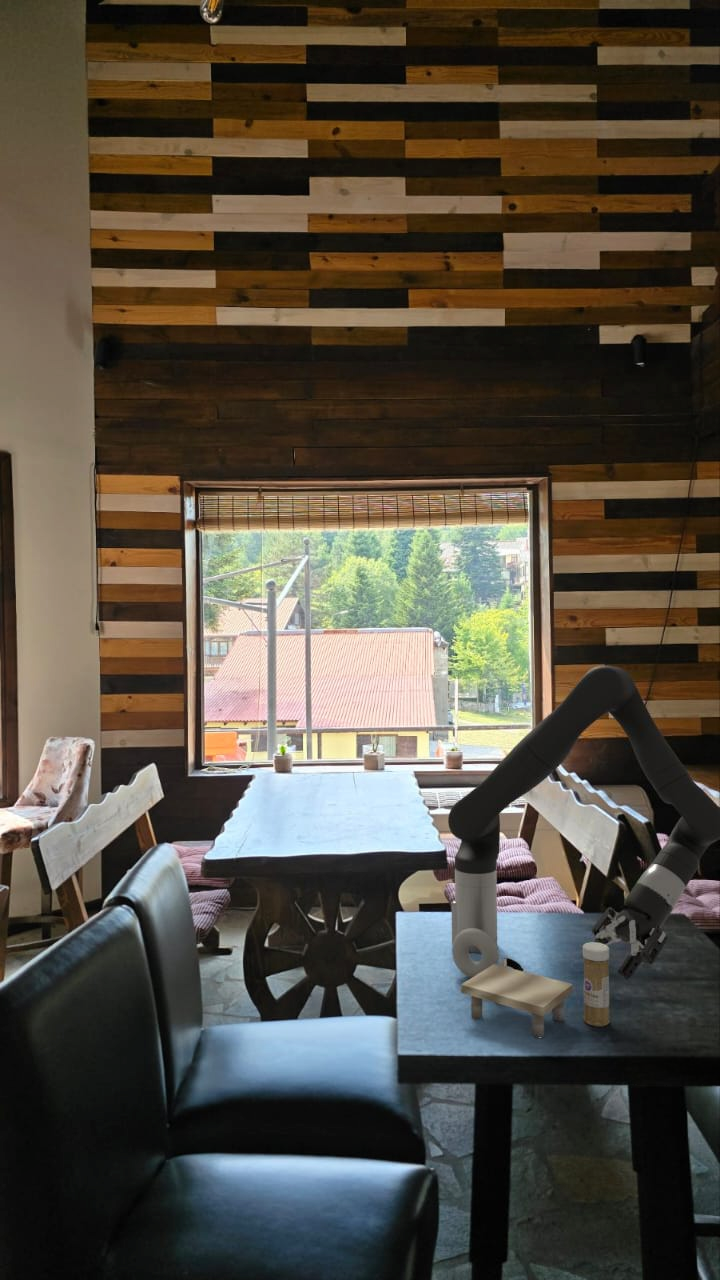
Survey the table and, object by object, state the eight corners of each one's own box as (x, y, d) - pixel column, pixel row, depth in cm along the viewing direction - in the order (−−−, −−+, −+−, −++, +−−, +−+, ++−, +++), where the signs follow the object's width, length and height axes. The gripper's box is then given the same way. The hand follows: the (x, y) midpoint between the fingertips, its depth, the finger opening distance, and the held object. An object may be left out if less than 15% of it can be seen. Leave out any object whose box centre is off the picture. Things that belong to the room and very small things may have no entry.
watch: (496, 968, 173) (496, 951, 173) (519, 968, 173) (519, 951, 173) (503, 983, 165) (503, 965, 165) (527, 983, 165) (526, 965, 165)
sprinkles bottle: (578, 1021, 148) (577, 945, 148) (592, 1013, 151) (591, 939, 151) (601, 1030, 144) (600, 952, 144) (615, 1021, 147) (614, 945, 147)
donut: (502, 980, 166) (501, 930, 166) (495, 986, 163) (494, 935, 163) (456, 970, 171) (456, 922, 171) (449, 976, 168) (448, 927, 169)
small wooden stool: (461, 1018, 150) (461, 984, 150) (494, 995, 159) (493, 964, 159) (543, 1043, 140) (543, 1007, 140) (573, 1017, 149) (572, 984, 149)
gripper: (617, 873, 159) (568, 942, 154) (672, 893, 145) (621, 969, 141) (639, 897, 161) (592, 966, 156) (695, 919, 147) (646, 995, 143)
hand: (606, 968), depth 148 cm, fingers open, 8 cm apart
